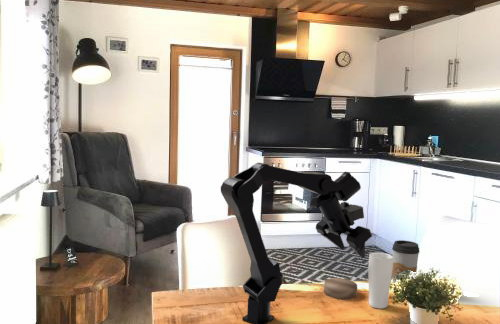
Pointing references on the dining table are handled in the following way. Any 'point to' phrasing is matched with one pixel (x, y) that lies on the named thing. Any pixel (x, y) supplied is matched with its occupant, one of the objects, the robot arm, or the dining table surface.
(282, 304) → the dining table surface
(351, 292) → the walnut stand
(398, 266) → the coffee cup
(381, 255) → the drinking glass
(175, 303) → the dining table surface
